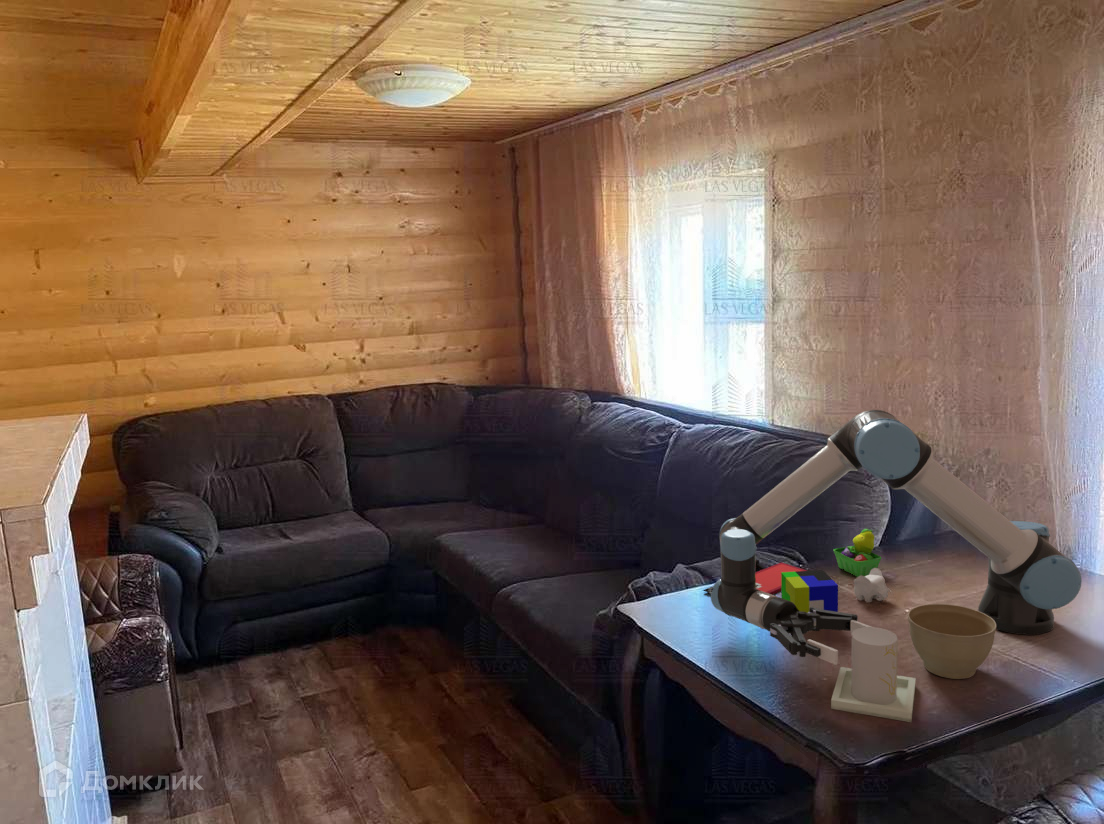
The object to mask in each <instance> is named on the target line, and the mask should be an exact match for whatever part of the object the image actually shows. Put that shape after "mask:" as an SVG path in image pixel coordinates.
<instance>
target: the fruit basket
mask: <svg viewBox="0 0 1104 824" xmlns="http://www.w3.org/2000/svg"><path fill="white" fill-rule="evenodd" d="M875 539H876V537H875V534H874V533H873V530H871V529H868V528H864V529H862V530H861V532H860V534H857V535H856V536H855V537H854V538H853V539H852V543H853V545H850V546H849V545H848V546H845V547H843V546H842V547H838V548H833V554H834V555H835V558H836V563H837V566H838V568H839V569H841V570H843V569H844V570H843V571H845V572H847V573H849V574H850V573H851V575H852V574H853V576H855V577H856V578H857V577H858V576H861V575H862V576H864V577H865V576H867V575H869V574H870V571H871V570H872V569H873V568H878V567H879V565H880V562H881V560H882V556H880V555H878V554H876V553H874V552H872V551H873V549H874V548H875ZM878 569H879V568H878Z"/></svg>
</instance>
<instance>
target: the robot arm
mask: <svg viewBox="0 0 1104 824" xmlns="http://www.w3.org/2000/svg"><path fill="white" fill-rule="evenodd" d="M933 451H934V450H933V448H932V446H930V444H928V443H927V442H925V441H924V440H923V439H922V438H921V437H920V436H918V435H917V434H916V433H915V432H913V431H912V429H911V428H910V427H909V426H907V425H906V424H905V423H903V422H901V421H900V420H898V419H897V418H896V416H894V415H893V414H892V413H890V412H888V411H885V410H881V409H869V410H864V411H862V412H860V413H858V414H857V415H855V416H853V417H852V418H851V419H850V420H848V421H847V422H845V424H843V425H842V426H841V427H840V428H839V429H837V430H836V431H835V432H834V433H833V434H831V435H830V436H829V437H828V438H827V444H826V445H825V446H824V447H823V448H821V449H820V450H819V451H818V452H816V453H815V454H814V455H813V456H811V457H810V458H808V460H807V461H806V462H804V463H803V464H802V465H800V467H798V468H797V469H795V470H794V471H793V472H792V473H791V474H789V475H788V476H787V477H786V478H785V479H783V480H782V481H781V482H779V483H778V484H777V485H775V486H774V488H772V489H770V490H769V492H767V493H766V494H764V495H763V496H762V497H761V498H760V499H759V500H757V501H756V502H755V503H753V504H752V505H751V506H749V508H747V509H746V510H745V511H744V512H743V513H741V514H740V515H739V516H737V517H734V518H732V517H731V518H730V519H727V520H726V521H724V522H723V524H721V527H720V530H719V533H718V538H719V539H718V540H719V545H720V547H719V548H720V549H719V550H720V570H721V577H720V579H718V580H717V581H716V582H715V583H714V584H713V586H712V587H713V591H712V592H711V593H710V601H711V603H712V606H713V607H714V608H715V609H716V610H718V611H720V612H722V613H724V614H725V615H726V616H729V617H733V618H736V619H740V620H741V621H743V622H747V623H748V624H751V625H754V626H756V627H757V628H758V627H759V628H760V629H761V630H766V631H768V632H769V636H770V637H772V638H774V639H775V640H777V641H778V642H779V643H780V644H781V645H782V646H783V647H784V648H785V649H786V651H787V652H789V654H791V655H792V656H797V655H798V653H799V657H801V658H806V656H807V654H808V655H810V656H812V657H816V658H818V659H820V660H822V661H825V662H828V663H830V664H832V665H834V666H837V665H839V650H838V649H836V648H833V647H832V646H831V647H830V646H828V645H826V644H823V643H821V642H818V641H815V640H812V639H807V640H806V638H805V634H807V633H809V632H820V630H828V631H829V630H831V631H845V632H850V633H849V634H851V635H852V632H853V631H854V630H855V629H858V628H862V627H872V626H871V625H868V624H866V623H863V622H860V621H858V615H857V614H854V613H848V612H841V611H838V612H835V611H828V610H821V609H818V608H814V607H810V608H809V612H808V613H807V612H802V611H799V610H798V609H797V607H796V606H795V604H794V603H793V602H791V601H788V600H785V599H782V597H778V595H775V594H773V595H772V594H769V593H766V592H763V591H760V590H758V589H756V578H755V572H756V570H755V567H756V558H757V557H756V552H757V546H756V545H757V544H759V543H760V542H761V541H762V540H764V539H765V538H766V537H767V536H768V535H770V534H771V533H772V532H773V531H775V530H776V529H777V528H779V527H780V526H781V525H783V523H785V522H787V521H788V520H789V519H791V517H793V516H794V515H795V514H797V512H800V510H801V509H803V508H804V507H806V506H807V505H808V504H809V503H811V502H812V501H813V500H815V499H816V498H817V497H818V496H820V495H821V494H822V493H823V492H824V491H826V490H827V489H828V488H830V487H831V486H832V485H834V484H835V483H836V482H838V481H839V480H840V479H841V478H842V477H844V476H845V475H846V474H848V473H849V472H850V471H853V472H854V471H855V472H857V471H859V470H860V469H861V468H863V469H864V470H865V471H867V472H868V473H869V474H871V475H874V477H877V478H879V480H881V482H882V481H883V482H884V484H886V485H887V486H889V487H890V488H891V489H892V490H905V491H906V492H907V493H909V494H910V495H911V496H912V497H913V498H915V499H916V500H917V501H918V502H920V504H922V505H923V506H925V507H926V508H927V509H928V510H930V512H931V513H933V514H934V515H936V516H937V518H939V519H940V520H942V521H943V522H944V523H945V524H946V525H948V526H949V527H950V528H952V529H953V530H954V531H955V532H956V533H957V534H959V535H960V536H961V537H962V538H963V539H965V540H966V541H967V542H969V543H970V544H971V545H972V546H973V547H975V548H976V549H977V550H979V551H980V553H982V554H983V555H985V556H986V557H987V558H988V566H987V567H988V568H987V570H988V573H987V586H986V588H985V590H984V593H983V596H982V597H981V600H980V602H979V605H978V609H977V611H980V612H982V613H984V614H986V615H988V616H989V617H991V618H992V619H993V620H994V621H995V622H996V631H997V630H998V631H1000V632H1005V633H1010V634H1017V635H1029V636H1030V635H1041V634H1045V633H1048V632H1051V631H1052V630H1053V629H1054V626H1055V616H1054V612H1053V610H1054V609H1055V610H1057V609H1060V608H1063V607H1065V606H1067V605H1069V604H1070V603H1071V602H1072V601H1073V600H1075V599H1076V597H1077V596H1078V594H1079V593H1080V591H1081V587H1082V575H1081V572H1080V570H1079V568H1078V567H1077V564H1076V563H1075V562H1074V561H1073V560H1072V559H1070V558H1069V557H1067V556H1065V555H1064V554H1063V553H1062V552H1061V551H1060V550H1058V549H1057V548H1056V547H1055V546H1054V545H1052V544H1051V543H1050V537H1051V533H1050V528H1049V527H1048V526H1047V525H1045V524H1043V523H1039V522H1038V523H1037V522H1034V521H1026V520H1025V521H1021V520H1009V519H1008V518H1007V517H1006V516H1004V514H1002V513H1001V512H999V510H997V509H996V508H995V507H993V506H992V505H991V504H990V503H988V502H987V501H986V500H985V499H983V498H982V497H981V496H980V495H979V494H977V493H976V492H975V491H974V490H972V489H971V488H970V487H969V486H967V485H966V484H965V483H964V482H963V481H961V480H960V479H959V478H958V477H957V476H955V474H953V473H951V471H949V470H948V469H947V468H946V467H944V466H943V465H942V464H940V463H939V462H938V461H937V460H936V459H934V452H933ZM814 622H816V626H814Z"/></svg>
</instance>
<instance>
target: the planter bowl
mask: <svg viewBox="0 0 1104 824" xmlns="http://www.w3.org/2000/svg"><path fill="white" fill-rule="evenodd" d="M907 620H908V622H909V623H908V627H909V628H908V629H909V634H910V640H911V641H912V644H913V646H914V649H915V651H916V652H917V654H918V657H920V658H921V660H922V661H923V666H924V668H925V669H926V670H927V671H928V672H930V673H932V674H934V675H936V676H939V677H942V678H947V679H953V680H960V679H961V680H962V679H963V680H964V679H968V678H969V679H970V678H971V677H973V676H974V675H975V674H976V672H977V669H978V668H980V666H981V665H982V664H983V663H984V662H985V660H986V659H987V658H988V656H989V654H990V653H991V651H992V648H993V645H994V640H995V634H996V632H997V629H996V622H995V621H994V620H993V619H992V618H991V617H989V616H988V615H986V614H984V613H982V612H980V611H978V609H977V610H976V609H973V608H970V607H966V606H962V605H956V604H949V603H946V604H945V603H932V604H931V603H930V604H923V605H918V606H917V605H916V606H915V607H913V608H911V609H910V610H909V611H908V613H907Z"/></svg>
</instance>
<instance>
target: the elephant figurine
mask: <svg viewBox="0 0 1104 824" xmlns="http://www.w3.org/2000/svg"><path fill="white" fill-rule="evenodd" d="M853 585H854V588H853V591H854V595H855V598H856V599H857V600H858V601H864V602H865V601H866V602H865V603H871V602H873V599H874V600H875V599H876V601H879V602H882V601H883V600H885V599H887V598H888V596H889V592H890V593H891V594H892V595H894V593H893V591H892V590H891V589H890V588H889V587H887V585H886V579H885V578H884V576H883V573H882V571H881V569H880V568H873V569H872V570H871V571H870V574H869V575H867V576H865V577H864V576H862V575H861V576H858V577H856V578H855V579H853Z"/></svg>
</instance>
